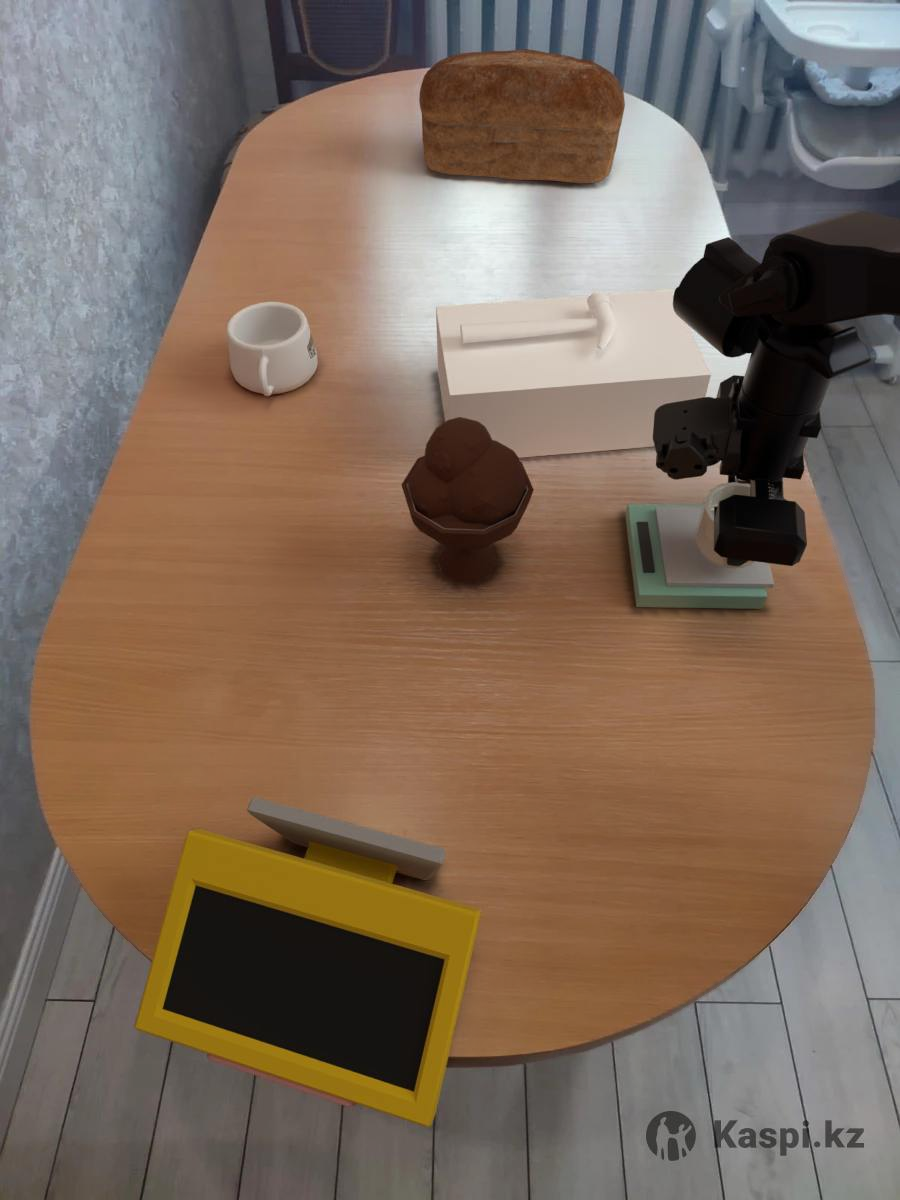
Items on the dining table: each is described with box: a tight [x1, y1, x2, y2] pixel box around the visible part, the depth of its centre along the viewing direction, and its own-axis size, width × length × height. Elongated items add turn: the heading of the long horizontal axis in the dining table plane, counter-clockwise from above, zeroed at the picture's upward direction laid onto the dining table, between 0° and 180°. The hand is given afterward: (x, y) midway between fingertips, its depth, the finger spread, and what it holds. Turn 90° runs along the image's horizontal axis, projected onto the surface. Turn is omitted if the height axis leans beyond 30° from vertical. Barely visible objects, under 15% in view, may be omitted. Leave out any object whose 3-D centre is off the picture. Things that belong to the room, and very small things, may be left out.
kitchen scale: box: [624, 503, 775, 610], centre depth 81 cm, size 12×11×2 cm
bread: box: [418, 48, 626, 184], centre depth 123 cm, size 12×28×14 cm, turn 80°
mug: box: [226, 301, 319, 397], centre depth 97 cm, size 12×10×6 cm
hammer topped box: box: [435, 288, 712, 459], centre depth 91 cm, size 14×25×11 cm, turn 96°
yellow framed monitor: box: [134, 796, 482, 1128], centre depth 58 cm, size 20×8×16 cm
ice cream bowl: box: [400, 417, 534, 584], centre depth 77 cm, size 11×11×15 cm
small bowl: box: [695, 482, 756, 568], centre depth 76 cm, size 6×6×5 cm
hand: (733, 536), depth 77 cm, fingers closed on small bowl, 6 cm apart
